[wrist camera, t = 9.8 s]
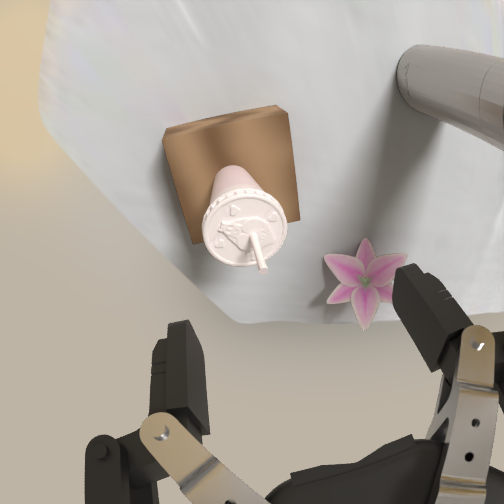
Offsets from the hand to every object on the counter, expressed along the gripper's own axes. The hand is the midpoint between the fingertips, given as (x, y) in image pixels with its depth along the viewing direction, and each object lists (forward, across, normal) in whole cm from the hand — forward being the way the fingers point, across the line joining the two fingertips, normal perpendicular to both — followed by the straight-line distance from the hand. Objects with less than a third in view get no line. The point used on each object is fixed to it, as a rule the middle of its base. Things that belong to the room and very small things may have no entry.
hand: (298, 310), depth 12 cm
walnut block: (+27, +1, +4) cm, 27 cm away
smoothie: (+22, +1, +4) cm, 22 cm away
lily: (+27, -14, +22) cm, 38 cm away
